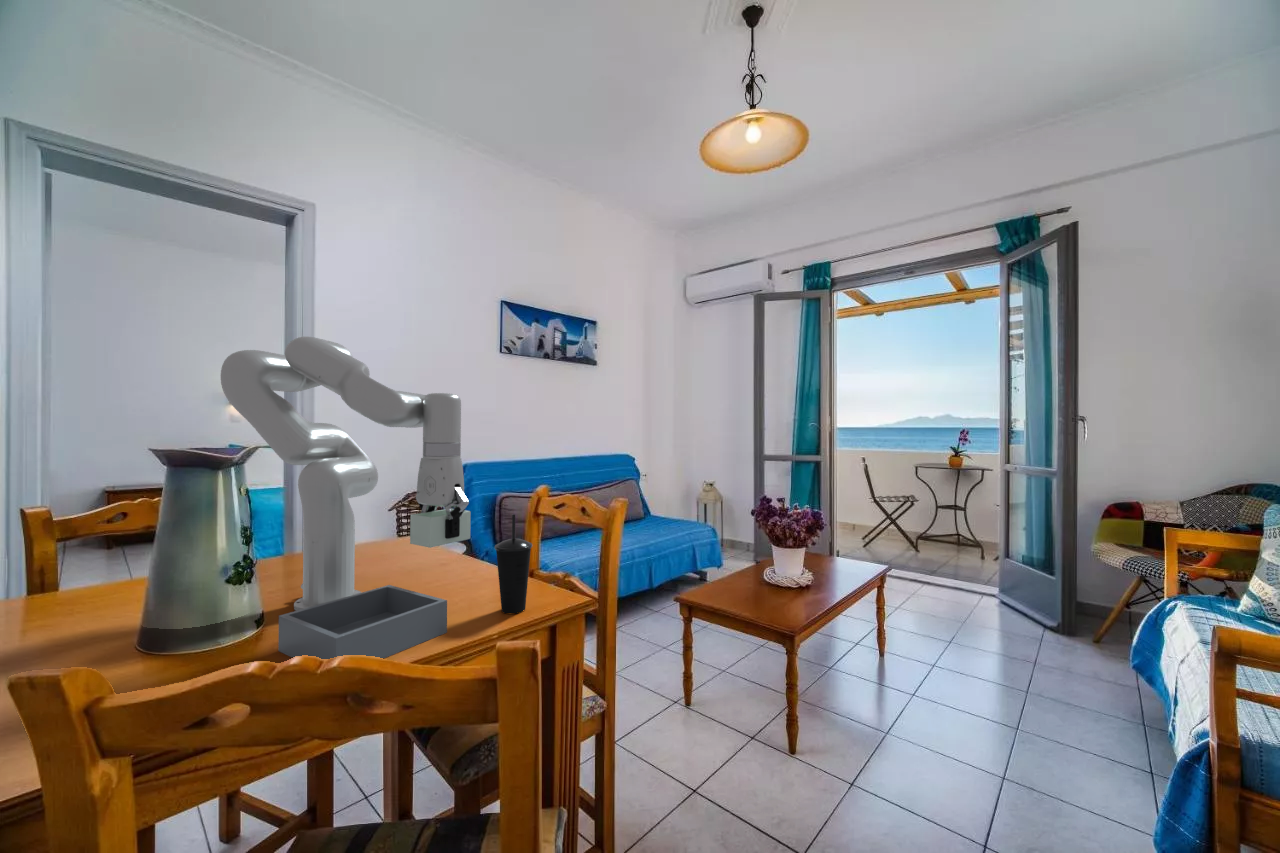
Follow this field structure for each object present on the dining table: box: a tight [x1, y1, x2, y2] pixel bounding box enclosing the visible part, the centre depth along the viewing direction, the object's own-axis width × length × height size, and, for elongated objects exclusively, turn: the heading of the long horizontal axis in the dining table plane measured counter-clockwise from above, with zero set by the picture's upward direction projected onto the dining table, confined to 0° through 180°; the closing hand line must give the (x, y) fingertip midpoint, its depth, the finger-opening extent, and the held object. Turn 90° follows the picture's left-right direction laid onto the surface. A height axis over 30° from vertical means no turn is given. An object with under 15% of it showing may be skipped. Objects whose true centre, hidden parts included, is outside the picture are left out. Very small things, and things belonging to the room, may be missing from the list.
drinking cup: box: [494, 514, 533, 614], centre depth 105 cm, size 8×8×20 cm
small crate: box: [409, 508, 472, 548], centre depth 106 cm, size 6×10×6 cm, turn 149°
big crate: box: [277, 584, 448, 659], centre depth 89 cm, size 18×20×6 cm
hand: (441, 534), depth 106 cm, fingers closed on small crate, 6 cm apart
